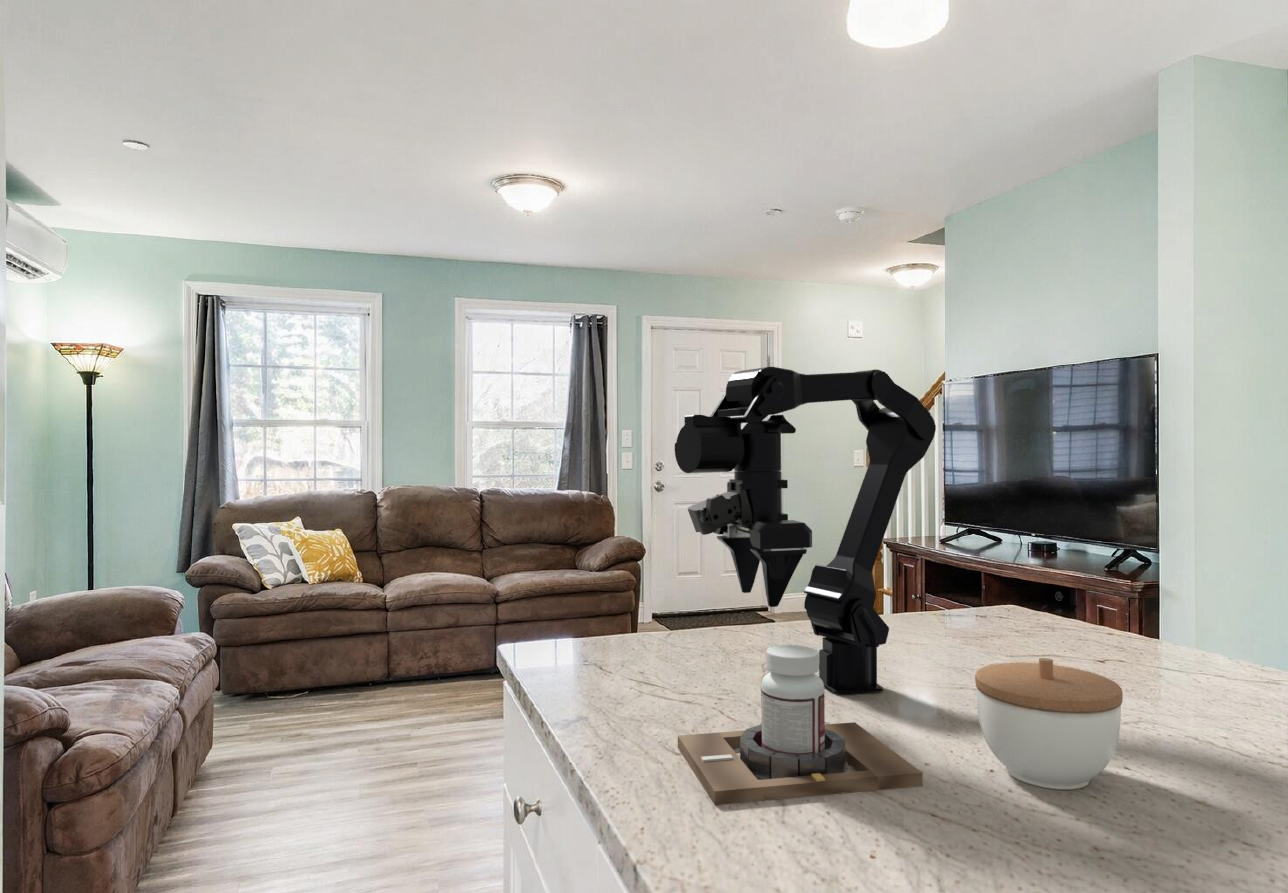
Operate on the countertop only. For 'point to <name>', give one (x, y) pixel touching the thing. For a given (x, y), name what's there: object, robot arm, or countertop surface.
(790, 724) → the pill bottle
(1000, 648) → the countertop surface
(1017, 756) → the lidded bowl
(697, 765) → the socket board
